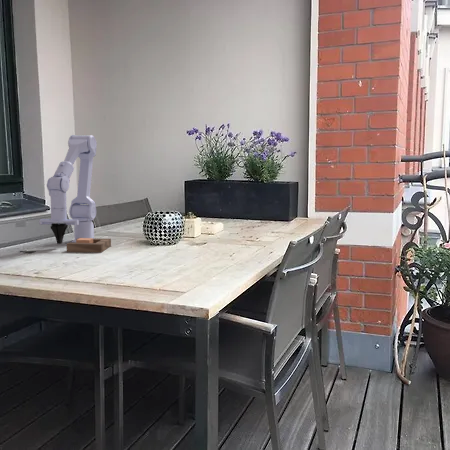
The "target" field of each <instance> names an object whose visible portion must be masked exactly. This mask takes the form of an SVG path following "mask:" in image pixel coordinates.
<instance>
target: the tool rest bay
mask: <svg viewBox="0 0 450 450" xmlns="http://www.w3.org/2000/svg"><path fill="white" fill-rule="evenodd" d="M78 239H79V238H78ZM76 240H77V239H76ZM110 247H112V239H111V238H96V237H94V238H93V243H76V242H67V243H66V253H99V254H100V253H103V252H104V251H106V250H107V249H109V248H110Z"/></svg>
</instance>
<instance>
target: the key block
mask: <svg viewBox="0 0 450 450" xmlns="http://www.w3.org/2000/svg"><path fill="white" fill-rule="evenodd" d="M75 243H93V238H79V239H77V240H76V242H75Z"/></svg>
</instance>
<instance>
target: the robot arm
mask: <svg viewBox="0 0 450 450" xmlns="http://www.w3.org/2000/svg"><path fill="white" fill-rule="evenodd" d="M67 144H68V145H67V146H68V150H67V152H66V155H65V158H64V161H61V162H60V163H59V164H58V166H57V168H56V170H55V172H54V174H53V175H52V176H51V177H49V178H48V180H47V181H46V182H47V183H46V189H47V191H48V195H49V197H50V218H41V219H39V221H38V222H39V226H40V225H50V230H51V231H52V233H53V234H54V237H55V240H56V244H58V245H61V244H63V241H64V235H65V233H66V231H67V229H68V227H69V226H74V227H73V229H74V230H73V231H74V233H73V234H74V239H73V240H71V242H70V243H76V239H78V238H95V226H94V225H95V224H94V223H93V221H94V220H95V218H96V217H97V205H96V202H95V200H93V199H92V198H91V190H92V189H91V186H92V175H93V168H94V167H93V166H94V157H96V155H97V146H98V145H97V144H98V142H97V139H96V137H95V136H94V135H93V134H90V135H87V134H86V135H84V134H82V135H78V134H77V135H76V134H71V135H70V136H69V138H68V141H67ZM77 158H79V160H80V161H79V170H78V183H77V192H76V193H77V195H76V197H74V198H72V200H71V202H70V207H69V209H67V192H68V190H69V189H70V178H71V176H72V174H73V173H74V169H75V167H74V164H75V162H76V161H77ZM67 211H68V213H67ZM67 215H69V217H70V218H69V219H68V216H67Z"/></svg>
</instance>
